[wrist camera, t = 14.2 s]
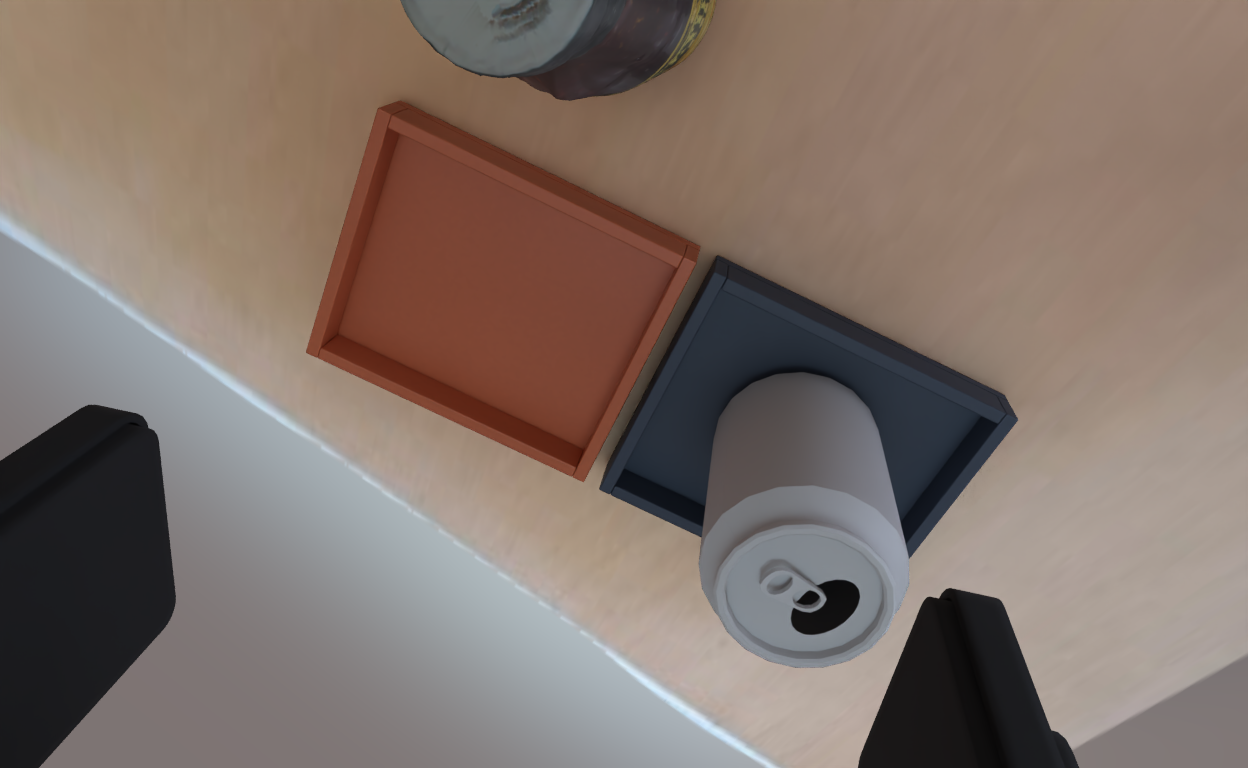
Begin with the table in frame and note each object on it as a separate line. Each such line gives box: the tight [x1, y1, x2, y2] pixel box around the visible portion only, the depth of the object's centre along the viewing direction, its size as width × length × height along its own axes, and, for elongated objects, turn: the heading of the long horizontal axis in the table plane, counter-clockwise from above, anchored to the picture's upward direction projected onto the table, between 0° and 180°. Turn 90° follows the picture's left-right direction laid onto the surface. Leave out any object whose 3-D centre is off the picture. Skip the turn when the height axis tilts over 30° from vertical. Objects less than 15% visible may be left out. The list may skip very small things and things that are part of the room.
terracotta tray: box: [306, 101, 700, 482], centre depth 39 cm, size 14×12×2 cm
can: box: [699, 372, 909, 668], centre depth 35 cm, size 8×8×12 cm
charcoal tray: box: [599, 256, 1018, 558], centre depth 40 cm, size 14×12×2 cm
